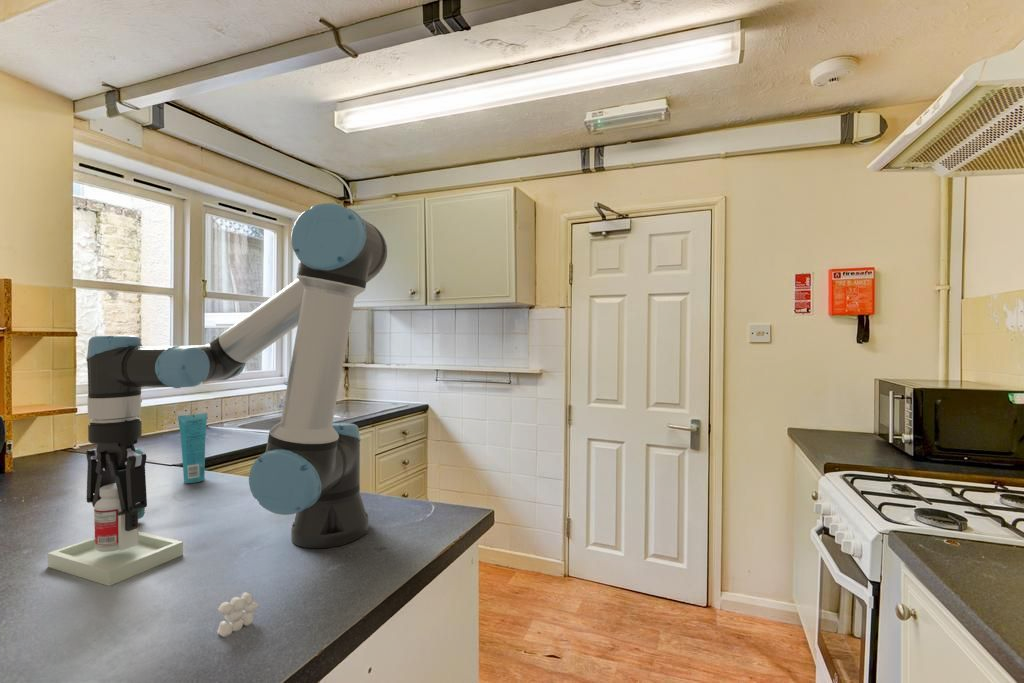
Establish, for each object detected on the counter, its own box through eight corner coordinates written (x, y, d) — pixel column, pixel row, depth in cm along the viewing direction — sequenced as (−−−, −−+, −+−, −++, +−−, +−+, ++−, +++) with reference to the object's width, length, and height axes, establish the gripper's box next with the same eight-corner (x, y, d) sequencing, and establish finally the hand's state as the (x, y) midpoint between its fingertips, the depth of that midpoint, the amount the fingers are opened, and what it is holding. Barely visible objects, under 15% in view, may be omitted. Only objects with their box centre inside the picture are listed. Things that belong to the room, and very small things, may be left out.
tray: (183, 554, 89) (182, 541, 89) (109, 586, 78) (109, 571, 78) (123, 540, 96) (123, 527, 96) (47, 566, 85) (47, 553, 85)
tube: (202, 476, 139) (201, 411, 139) (212, 478, 137) (211, 412, 137) (175, 483, 133) (174, 415, 133) (184, 485, 131) (184, 416, 130)
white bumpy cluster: (221, 639, 64) (223, 605, 64) (215, 635, 65) (218, 602, 65) (257, 623, 68) (259, 591, 69) (251, 620, 69) (254, 588, 69)
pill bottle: (135, 535, 91) (134, 478, 91) (141, 544, 87) (140, 485, 87) (92, 545, 87) (92, 485, 87) (96, 556, 83) (96, 493, 82)
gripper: (171, 419, 87) (172, 544, 87) (107, 412, 94) (108, 528, 94) (124, 426, 80) (126, 562, 80) (59, 419, 87) (61, 543, 87)
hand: (116, 543), depth 87 cm, fingers closed on pill bottle, 6 cm apart
